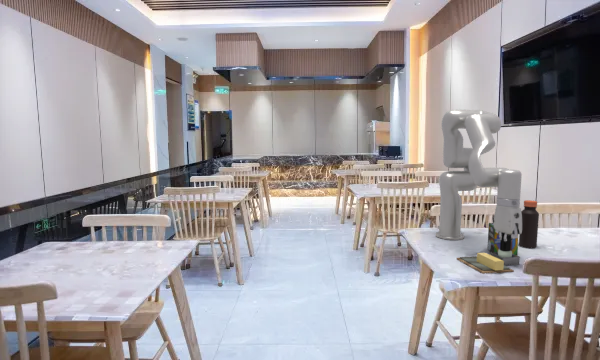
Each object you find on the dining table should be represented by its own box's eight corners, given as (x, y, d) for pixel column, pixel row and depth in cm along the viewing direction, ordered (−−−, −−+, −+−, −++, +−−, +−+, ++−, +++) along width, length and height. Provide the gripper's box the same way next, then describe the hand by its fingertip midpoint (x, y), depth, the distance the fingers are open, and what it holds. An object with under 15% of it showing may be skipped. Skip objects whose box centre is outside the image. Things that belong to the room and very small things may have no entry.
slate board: (456, 259, 146) (456, 256, 146) (484, 257, 148) (484, 255, 148) (482, 273, 130) (482, 270, 130) (513, 271, 132) (513, 268, 132)
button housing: (489, 259, 145) (490, 252, 145) (506, 258, 147) (506, 251, 146) (502, 265, 139) (502, 257, 138) (519, 264, 140) (519, 257, 139)
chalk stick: (495, 270, 130) (476, 261, 140) (503, 269, 131) (484, 260, 141) (495, 261, 130) (477, 253, 140) (503, 261, 131) (484, 252, 140)
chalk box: (517, 256, 150) (520, 219, 149) (493, 254, 152) (495, 218, 151) (509, 249, 159) (512, 215, 158) (486, 248, 161) (488, 214, 160)
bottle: (519, 247, 162) (522, 201, 160) (517, 243, 169) (520, 199, 167) (538, 249, 160) (541, 202, 158) (534, 245, 166) (538, 200, 164)
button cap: (494, 259, 144) (495, 249, 144) (505, 258, 145) (506, 248, 145) (503, 263, 140) (503, 252, 140) (514, 262, 141) (514, 252, 140)
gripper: (532, 206, 133) (528, 256, 135) (503, 199, 148) (500, 244, 150) (513, 206, 132) (510, 257, 134) (486, 199, 147) (483, 245, 149)
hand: (505, 250), depth 142 cm, fingers closed
